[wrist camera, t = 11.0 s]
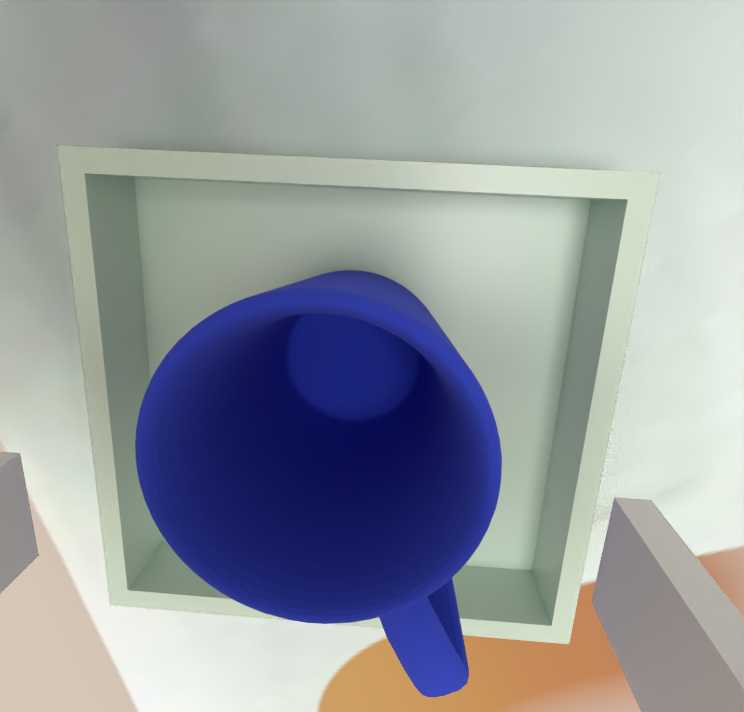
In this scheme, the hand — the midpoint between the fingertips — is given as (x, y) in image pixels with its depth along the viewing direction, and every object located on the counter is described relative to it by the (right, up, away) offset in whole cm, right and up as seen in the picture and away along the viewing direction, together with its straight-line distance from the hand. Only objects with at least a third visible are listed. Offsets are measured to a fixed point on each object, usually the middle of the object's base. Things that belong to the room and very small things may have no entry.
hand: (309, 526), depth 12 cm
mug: (+2, +2, +10) cm, 10 cm away
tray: (+1, +3, +11) cm, 11 cm away
